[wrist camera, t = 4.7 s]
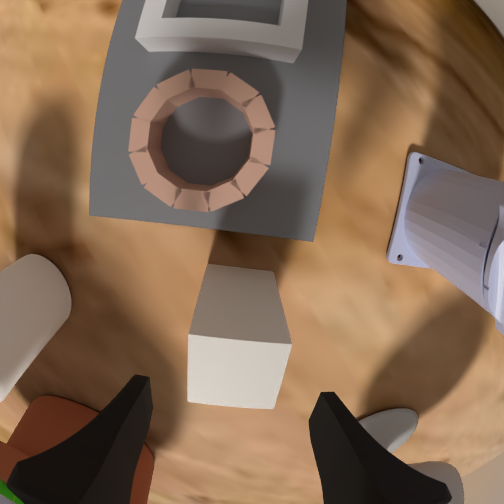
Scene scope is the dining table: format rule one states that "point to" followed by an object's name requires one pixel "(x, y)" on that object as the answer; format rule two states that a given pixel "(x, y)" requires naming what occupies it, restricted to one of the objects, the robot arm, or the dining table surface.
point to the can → (29, 314)
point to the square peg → (237, 339)
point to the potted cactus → (59, 441)
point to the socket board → (218, 114)
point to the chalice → (398, 431)
